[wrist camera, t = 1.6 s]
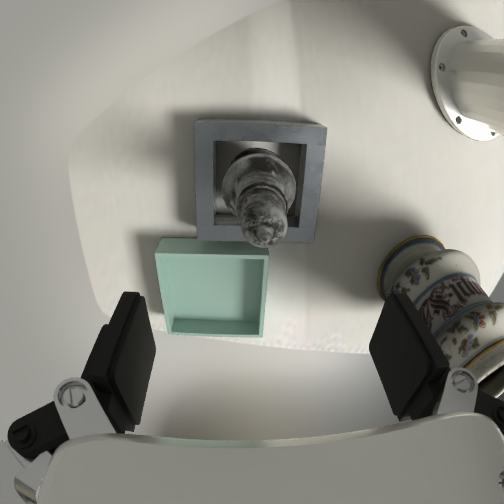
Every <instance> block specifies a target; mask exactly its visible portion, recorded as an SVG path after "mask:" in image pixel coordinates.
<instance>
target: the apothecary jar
mask: <svg viewBox="0 0 504 504" xmlns="http://www.w3.org/2000/svg"><path fill="white" fill-rule="evenodd" d="M377 286H378V291H379V294H380V296H381V298H382V299H383V300H384V301H385V300H386V298H387V297H388V296H390V294H391V293H395V292H405V293H406V294H407V295H408V296H409V298H410V299H411V301H412V302H413V304H414V306H415V307H416V309H417V310H418V312H419V313H420V315H421V317H422V318H423V320H424V321H425V323H426V324H427V326H428V328H429V329H430V331H431V333H432V334H433V336H434V338H435V339H436V341H437V343H438V344H439V346H440V348H441V349H442V351H443V353H444V355H445V356H446V358H447V360H448V362H449V363H450V365H449V368H450V369H451V370H452V369H453V368H456V367H462V368H465V369H467V370H469V371H470V372H472V373H473V374H474V376H475V377H476V379H477V382H478V389H479V390H481V391H483V392H485V393H487V394H489V395H491V396H493V397H495V398H497V397H498V396H499V395H501V394H502V393H503V392H504V303H500V302H499V303H498V302H497V303H493V302H492V301H491V300H490V298H489V297H488V296H487V294H486V293H485V292H484V291H483V289H482V288H481V287H480V274H479V270H478V268H477V266H476V264H475V262H474V261H473V260H472V259H471V258H470V257H469V256H468V255H466V254H465V253H463V252H461V251H458V250H452V249H445V248H444V246H443V244H442V243H441V242H440V241H439V240H437V239H436V238H434V237H431V236H424V235H422V236H415V237H412V238H410V239H407V240H405V241H404V242H402V243H401V244H399V245H398V246H397V247H395V248H394V249H393V250H392V251H391V252H390V254H389V255H388V256H387V257H386V259H385V260H384V262H383V264H382V266H381V268H380V271H379V274H378V280H377Z"/></svg>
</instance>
